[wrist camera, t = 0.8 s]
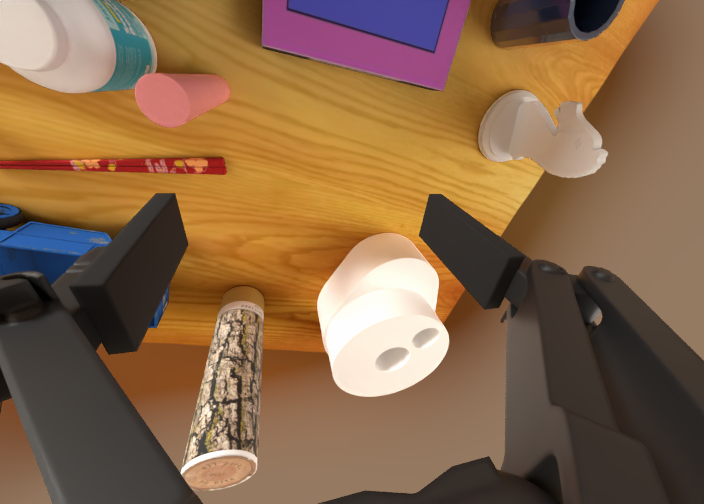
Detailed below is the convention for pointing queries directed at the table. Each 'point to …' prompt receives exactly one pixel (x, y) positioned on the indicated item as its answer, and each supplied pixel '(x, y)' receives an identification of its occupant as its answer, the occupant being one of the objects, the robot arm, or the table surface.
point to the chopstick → (127, 165)
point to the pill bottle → (76, 44)
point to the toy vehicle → (49, 248)
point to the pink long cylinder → (179, 96)
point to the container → (382, 317)
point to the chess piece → (541, 135)
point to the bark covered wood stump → (229, 397)
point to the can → (550, 21)
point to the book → (370, 35)
